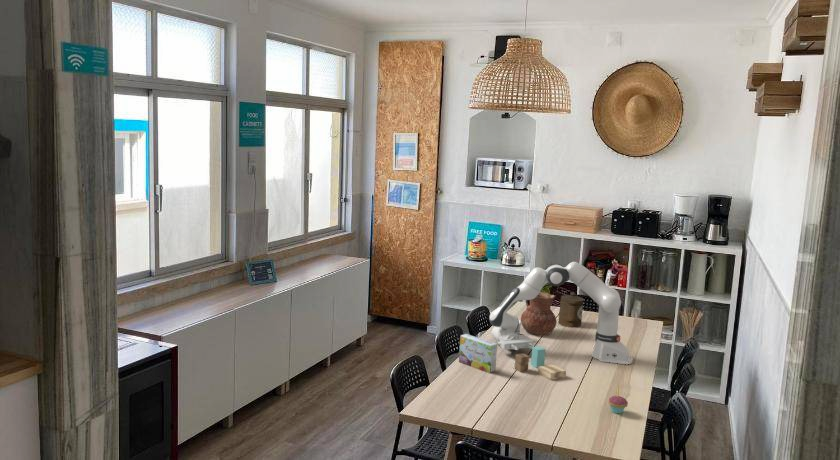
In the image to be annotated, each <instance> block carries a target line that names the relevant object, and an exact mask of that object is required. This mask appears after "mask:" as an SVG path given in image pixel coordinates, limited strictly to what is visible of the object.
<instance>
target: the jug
mask: <svg viewBox="0 0 840 460" xmlns="http://www.w3.org/2000/svg"><path fill="white" fill-rule="evenodd" d="M554 299H556V295H554V294H551V293H549V292H545V291H540V293H539V294H538V295H537V297H535V298H534V299H531V300H525V306H526V308H525V310H524V311H523V312H522V314H521V317H520V320H521V325H522V327H523V329H524V330H525V331H526V333H528V334H530V335H535V336H547V335H549V334H551V333H552V332H553V331H554V330H555V328H556V327H557V318H556V315H555V313H554V312H553V311H552V309H551V306H552V303H553V302H554Z"/></svg>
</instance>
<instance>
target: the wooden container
mask: <svg viewBox="0 0 840 460" xmlns="http://www.w3.org/2000/svg"><path fill="white" fill-rule="evenodd" d="M569 294H570V295H569ZM569 294H564V295H561V297H560V305H559V311H558V324H559V325H560V326H562V327H566V328H580V327H581V326H582V318H583V306H584V298H583V297H581V296H578V295H576V293H575V292H574V291H571V292H570V293H569Z"/></svg>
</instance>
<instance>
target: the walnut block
mask: <svg viewBox="0 0 840 460" xmlns="http://www.w3.org/2000/svg"><path fill="white" fill-rule="evenodd" d="M514 359H515V360H514V370H516V371H517V372H519V373H526V372H528V371H529V362H530V361H529V360H530V356H529V355H527V354H525V353H518V354H517V353H516V354H515V358H514Z"/></svg>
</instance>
